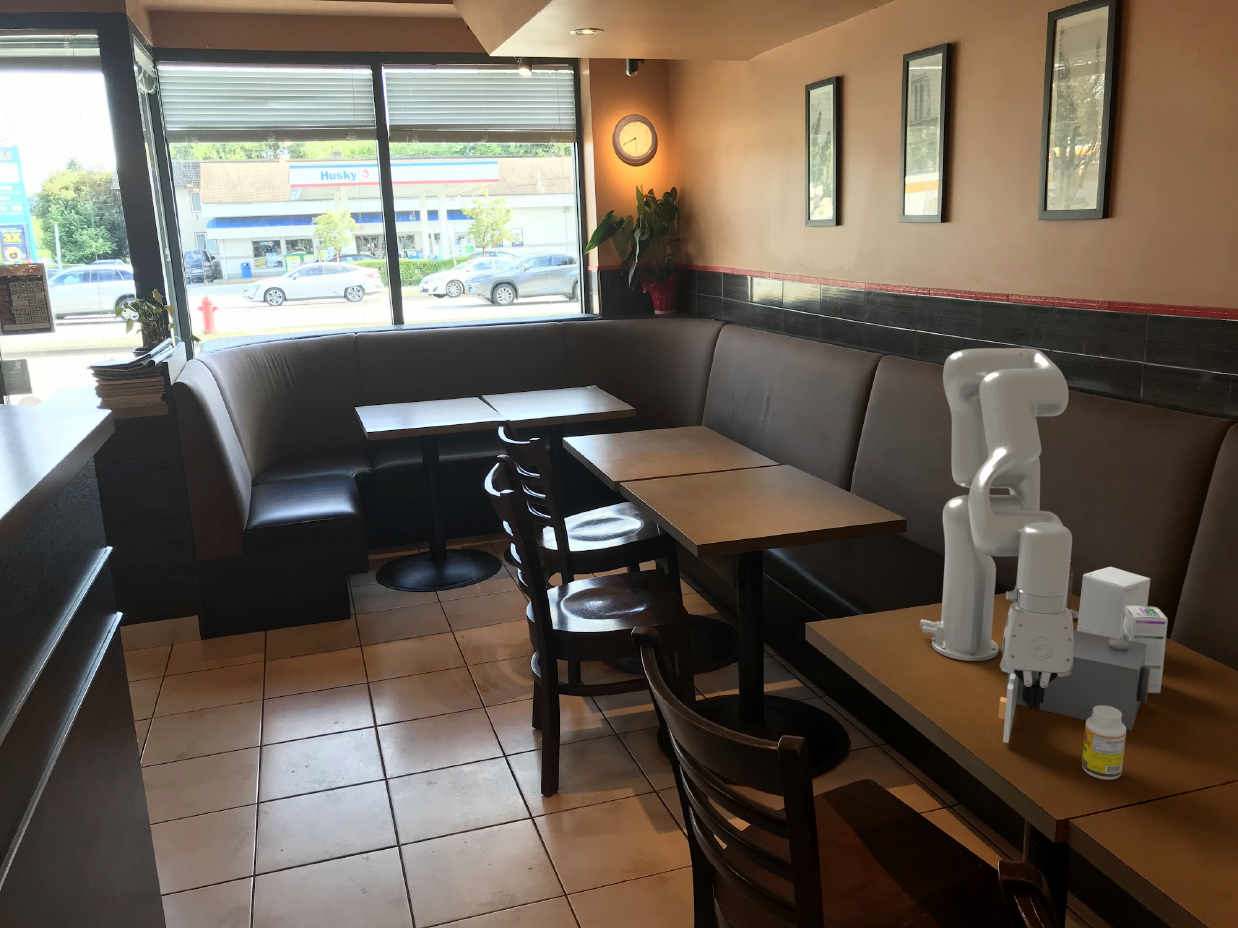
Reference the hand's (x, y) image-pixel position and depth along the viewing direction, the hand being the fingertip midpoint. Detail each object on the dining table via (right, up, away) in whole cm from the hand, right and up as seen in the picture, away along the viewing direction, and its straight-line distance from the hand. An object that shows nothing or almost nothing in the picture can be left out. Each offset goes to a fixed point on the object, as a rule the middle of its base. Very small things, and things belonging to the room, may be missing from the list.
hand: (1032, 705), depth 159 cm
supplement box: (+30, +3, +35) cm, 47 cm away
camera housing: (+13, -2, +13) cm, 18 cm away
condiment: (+28, +7, +53) cm, 60 cm away
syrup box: (+27, -1, +19) cm, 33 cm away
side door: (-2, -4, +6) cm, 7 cm away
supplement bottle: (+7, -8, -9) cm, 14 cm away
